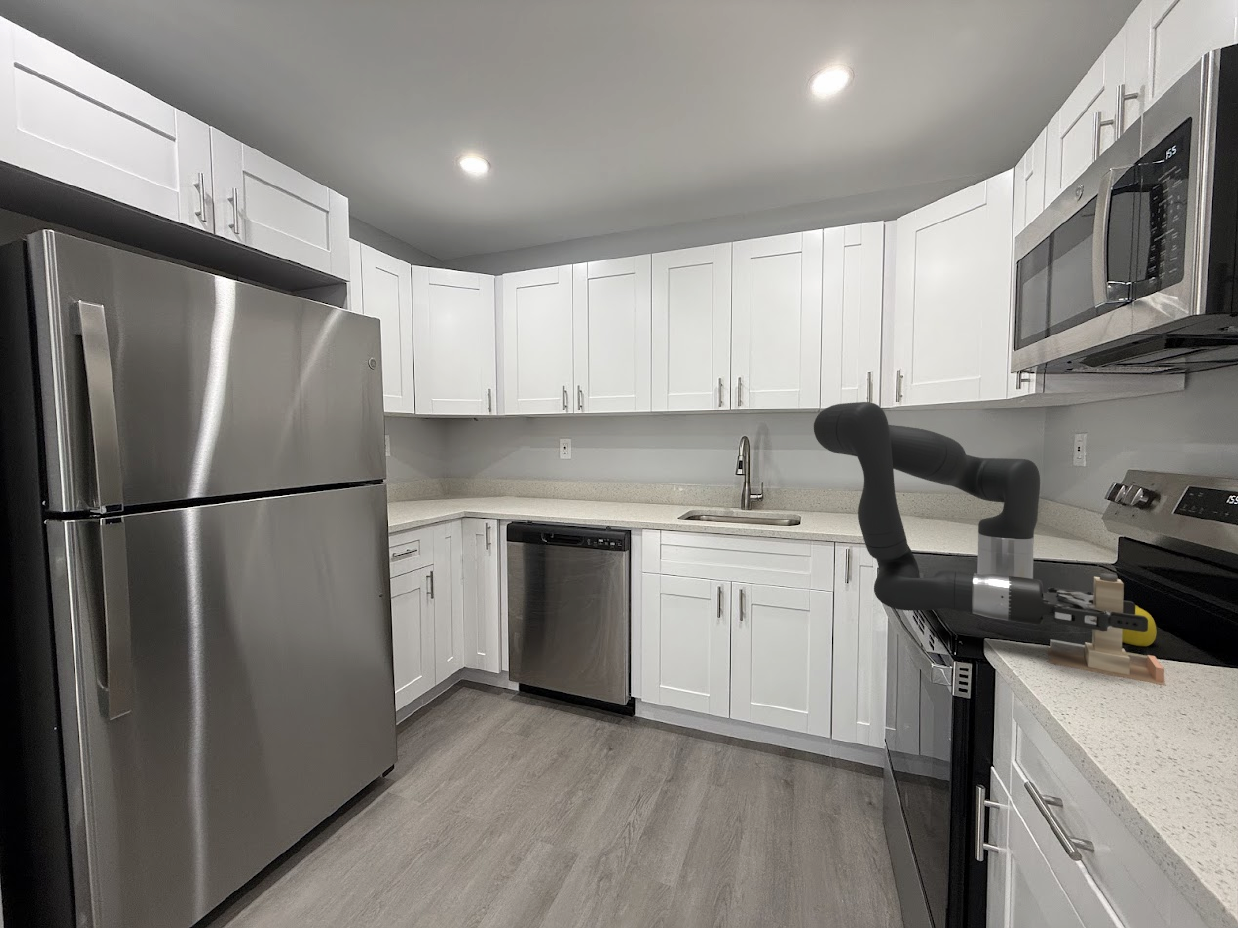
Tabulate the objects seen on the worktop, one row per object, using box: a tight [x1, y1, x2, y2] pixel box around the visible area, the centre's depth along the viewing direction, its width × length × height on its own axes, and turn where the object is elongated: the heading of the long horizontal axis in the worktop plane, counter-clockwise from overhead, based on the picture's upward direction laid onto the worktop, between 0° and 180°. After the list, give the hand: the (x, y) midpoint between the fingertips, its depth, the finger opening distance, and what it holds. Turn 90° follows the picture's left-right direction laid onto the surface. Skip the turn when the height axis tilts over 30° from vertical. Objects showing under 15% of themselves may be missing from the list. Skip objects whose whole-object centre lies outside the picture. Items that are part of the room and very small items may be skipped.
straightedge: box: [1049, 638, 1147, 668], centre depth 82 cm, size 1×12×2 cm, turn 53°
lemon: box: [1122, 604, 1157, 647], centre depth 88 cm, size 6×6×8 cm
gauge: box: [1084, 573, 1130, 675], centre depth 78 cm, size 4×4×14 cm
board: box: [1046, 646, 1167, 686], centre depth 79 cm, size 8×13×2 cm, turn 53°
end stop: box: [1146, 654, 1165, 683], centre depth 76 cm, size 5×1×2 cm, turn 143°
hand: (1140, 616), depth 76 cm, fingers open, 8 cm apart
